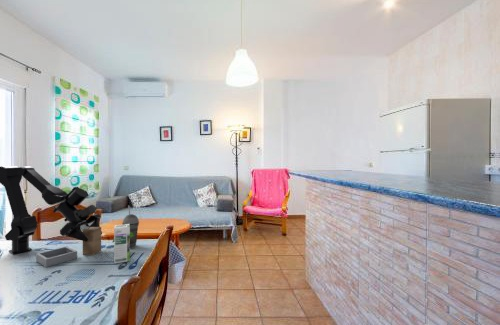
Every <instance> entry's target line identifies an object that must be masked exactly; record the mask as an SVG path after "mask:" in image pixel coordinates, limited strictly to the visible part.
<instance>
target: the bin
mask: <svg viewBox="0 0 500 325" xmlns="http://www.w3.org/2000/svg"><path fill="white" fill-rule="evenodd" d="M75 259H78V251H77V250H76V249H73V248H72V247H69V246H67V245H65V246H62V247H58V248H53V249H49V250H46V251H40V252H37V253H36V254H35V261H36V262H37V263H38V264H40V265H42V266H43V267H44V268H47V267H52V266H54V265H59V264H62V263H66V262H69V261H72V260H75Z"/></svg>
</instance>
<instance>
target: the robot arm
mask: <svg viewBox="0 0 500 325" xmlns="http://www.w3.org/2000/svg"><path fill="white" fill-rule="evenodd" d="M23 178H24V179H25V180H26V181H27V182H28V183H29V184H31V185H32V186H33V187H34V188H35V189H37V191H39V193H40V194H41V198H42V199H43V201H44V202H45V203H46V204H48V205H51V206H52V205H55V206H54V207H53V214H56V213H60V214H61V215H62V216H63V218H64V219H63V220H64V222H67V223H65V225H63V226H62V228H61V229H60V230H59V234H60V235H61V237H66V238H67V237H69V238H72V239H76V240H79V241H82V242H83V241H85V242H87V241H88V239H87V237H86V236H85V235H84V233H83V230H81V227H82V226H86V227H87V228H89V227H101V226H100V220H101V218H102V216H101V215H100V214H99V213H96V212H97V206H95V205H94V204H91V205H90V204H89V205H88V206H87V207H85V208H83V209H82V208H77V207H78V206H80V205H81V204H82V203H83V201H85V200H86V199H87V198H88V197H89V192H87V191H86V190H85V189H83V188H81V187H80V188H79V186H73V188H71V190H70V192H69V193H68V192H67V191H65V190H63V189H62V188H60V187H57V186H55V185H53V184H52V183H50V182H49V181H48V180H46V179H45V178H44V177H43V176H42V175H41V174H40V173H39V172H37V171H36V169H35V167H33V166H15V165H9V166H7V165H5V166H0V184H1V185H2V186H3V187H4V190H5V192H6V196H7V200H8V203H9V206H10V209H11V213H12V216H13V217H12V220H11V222H10V227H11V229H10V230H9V231H8V232H7V233H6V234H5V235H4V238H5V240H6V241H11V249H9V250H8V252H9V253H10V254H12V255H16V254H21V253H24V252H29V251H32V250H33V249H32V248H31V247H30V236H34V234H35V233H36V230H37V229H38V224H39V222H38V221H37V217H36V215H31V214H30V213H29V211H28V208H27V205H26V202H25V198H24V195H23V192H22V188H21V185H20V184H21V182H22V179H23ZM57 204H58V205H57ZM102 235H103V232H102V230H101V236H102Z"/></svg>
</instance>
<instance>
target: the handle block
mask: <svg viewBox="0 0 500 325" xmlns="http://www.w3.org/2000/svg"><path fill="white" fill-rule="evenodd" d="M101 231H102V226H100V227H89V228H88V227H87V228H84V229H82V232H83V233H84V235H85V236H86V237H87V239H88V241H87V242H85V241H82V256H95V255H96V253H97V254H98V253H100V252H102V235H101Z"/></svg>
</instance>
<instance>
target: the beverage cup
mask: <svg viewBox="0 0 500 325" xmlns="http://www.w3.org/2000/svg"><path fill="white" fill-rule="evenodd" d="M127 209H128V214H127V215H126V216H125V217H124V218H123V220H122V224H121V225H125V224H129V225H130V232H131V233H132V234H133V235H134V236H132V237H130V249H134V248H136V247H137V240H138V228H139V226H140V225H139V224H140V220H139V218H138V216H137V215H135V214H131V211H130V210H131V208H130V205H127Z"/></svg>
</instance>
